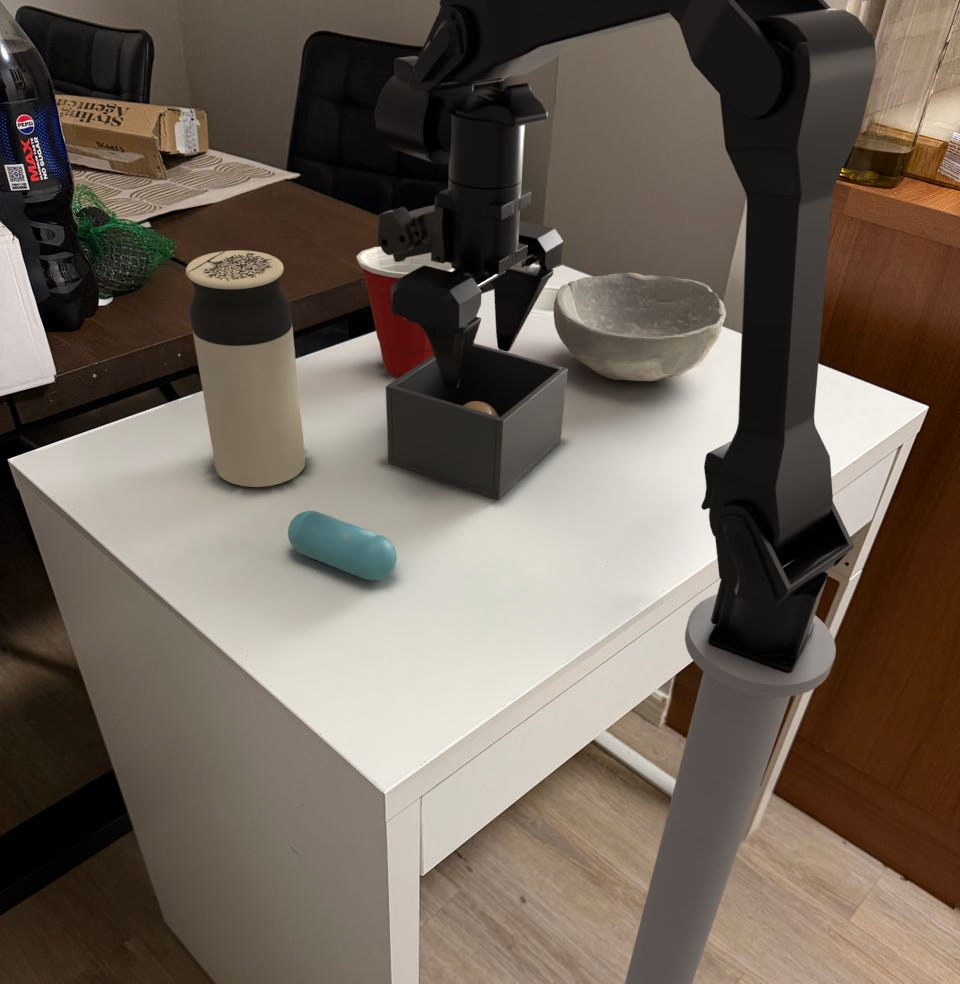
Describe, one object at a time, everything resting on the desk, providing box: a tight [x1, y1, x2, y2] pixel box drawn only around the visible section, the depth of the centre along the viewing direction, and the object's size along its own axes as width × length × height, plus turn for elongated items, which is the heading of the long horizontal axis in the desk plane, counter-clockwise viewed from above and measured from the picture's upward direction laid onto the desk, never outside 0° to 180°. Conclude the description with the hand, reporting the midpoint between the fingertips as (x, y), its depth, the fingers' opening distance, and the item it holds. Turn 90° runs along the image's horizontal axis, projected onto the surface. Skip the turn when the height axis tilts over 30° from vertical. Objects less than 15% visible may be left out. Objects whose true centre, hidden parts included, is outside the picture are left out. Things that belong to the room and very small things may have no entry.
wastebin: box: [385, 342, 569, 501], centre depth 87 cm, size 12×12×8 cm
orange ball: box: [463, 401, 499, 417], centre depth 88 cm, size 4×4×4 cm
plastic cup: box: [356, 246, 455, 379], centre depth 99 cm, size 11×11×12 cm
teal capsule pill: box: [287, 510, 398, 582], centre depth 74 cm, size 10×4×4 cm, turn 60°
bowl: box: [553, 272, 727, 382], centre depth 102 cm, size 18×18×8 cm
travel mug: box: [185, 249, 306, 488], centre depth 80 cm, size 8×8×18 cm
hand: (478, 368), depth 84 cm, fingers open, 9 cm apart
